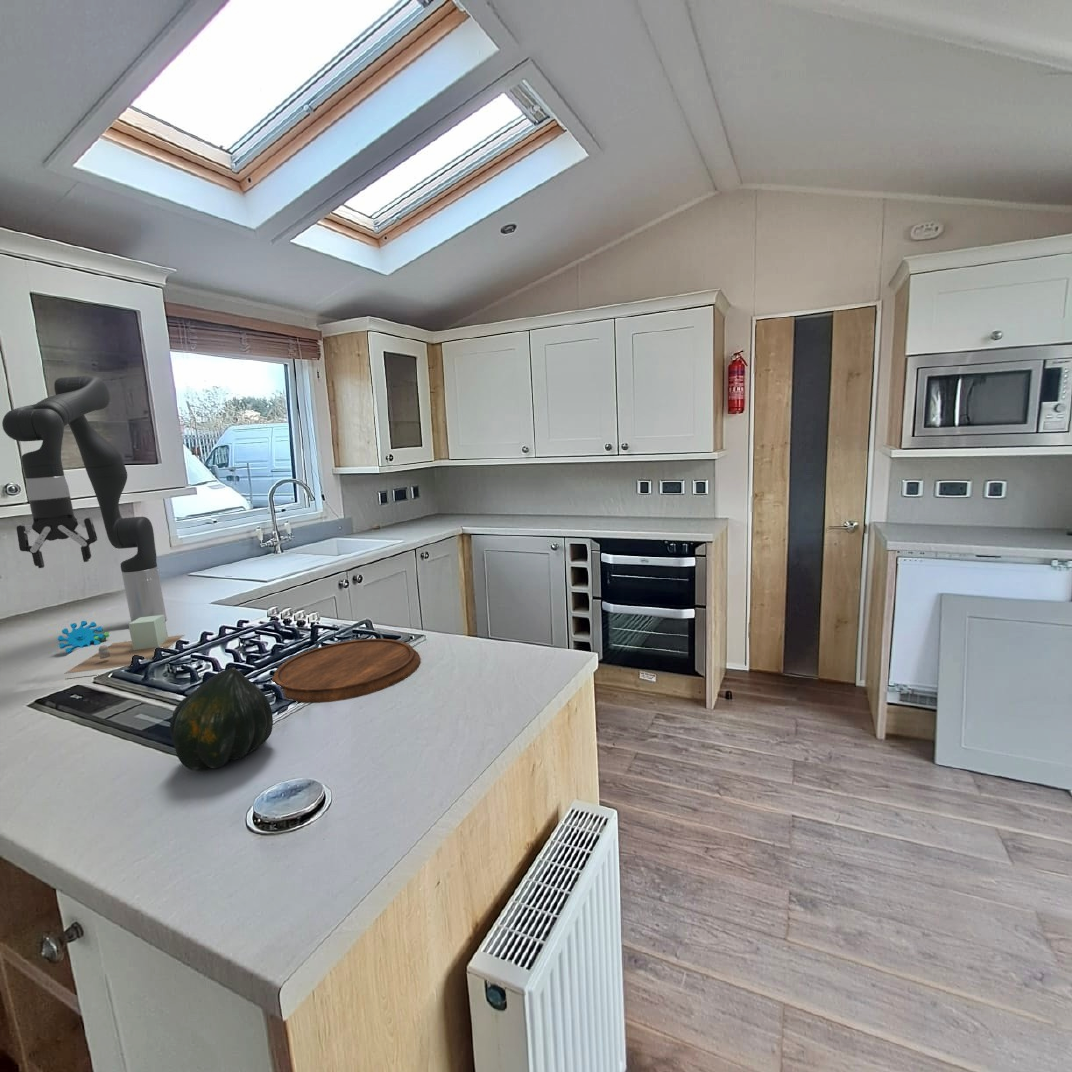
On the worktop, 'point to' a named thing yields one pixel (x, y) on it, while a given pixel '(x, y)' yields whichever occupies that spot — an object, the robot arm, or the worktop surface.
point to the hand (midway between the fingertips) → (64, 564)
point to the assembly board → (118, 656)
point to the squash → (220, 721)
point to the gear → (82, 636)
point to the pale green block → (148, 632)
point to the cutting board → (346, 670)
